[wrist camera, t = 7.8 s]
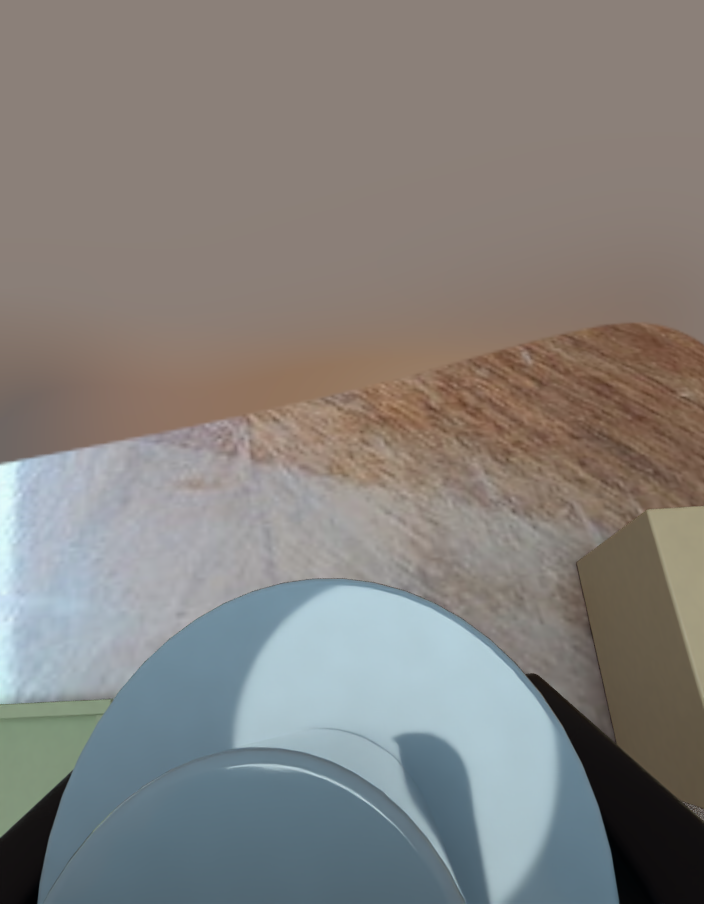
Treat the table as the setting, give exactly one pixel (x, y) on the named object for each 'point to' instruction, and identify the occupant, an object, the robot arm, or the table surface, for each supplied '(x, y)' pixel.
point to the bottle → (329, 767)
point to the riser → (653, 642)
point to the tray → (40, 750)
